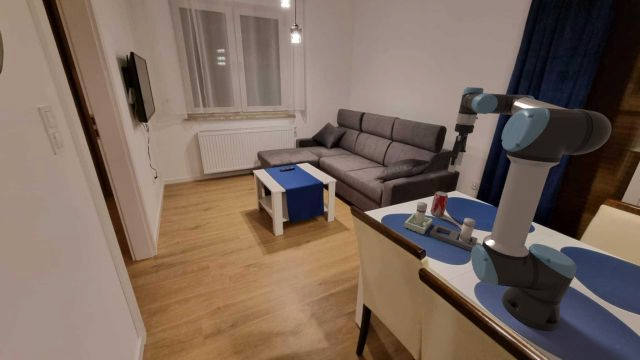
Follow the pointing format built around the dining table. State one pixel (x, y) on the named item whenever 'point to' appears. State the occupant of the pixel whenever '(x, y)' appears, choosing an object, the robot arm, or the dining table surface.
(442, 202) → the soda can
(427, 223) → the tray
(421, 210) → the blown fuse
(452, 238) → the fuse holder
